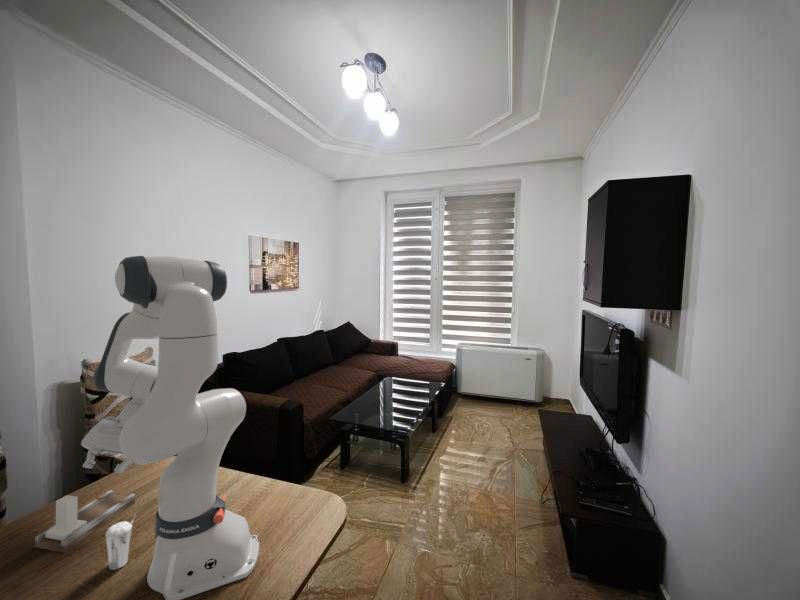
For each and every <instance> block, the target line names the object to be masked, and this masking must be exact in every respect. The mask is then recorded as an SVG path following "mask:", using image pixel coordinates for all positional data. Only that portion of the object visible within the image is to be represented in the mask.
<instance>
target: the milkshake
mask: <svg viewBox="0 0 800 600" xmlns="http://www.w3.org/2000/svg"><path fill="white" fill-rule="evenodd" d="M136 516H137V514H136V513H134V515H133V518H132V520H131V522H130V521H127V520H126V521H119V522H117V523H114V524H113V525H110V526H109V527H108V529H107V531H106V532H105V540H106V548H107V558H108V559H107V561H108V569H109V570H111V571H115V570H120V568H122V567H125V565H126V564H127V563H128V559H129V553H130V552H129V551H130V543H131V542H130V541H131V536H132V531H133V529H132V528H133V522H134V520H135V519H136Z"/></svg>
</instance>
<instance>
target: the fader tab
mask: <svg viewBox="0 0 800 600" xmlns="http://www.w3.org/2000/svg"><path fill="white" fill-rule="evenodd" d="M78 502H79V501H78V496H77V495H75V496H74V495H68V494H66V495H64V496H62V498H59V499H57V500H56V501H55V524H56V526H55V527H54V528H52V529H50V530H49V531H47V532H46V533H45V538H51V539H56V540H62V541H63V540H64V539H66V538H67V537H69V536H70V535H72V534H73V533H75V532H76V531H78V530H79V529H80V528H82V527H83V526H85V525H86V524H87V521H83V520H77V511H78V510H79V509H78V508H79V507H78Z"/></svg>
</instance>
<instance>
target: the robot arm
mask: <svg viewBox="0 0 800 600" xmlns="http://www.w3.org/2000/svg"><path fill="white" fill-rule="evenodd" d="M227 278H228V277H227V273H226V271H225V269H224V268H223V266H222V265H221V264H219V263H217V262H214V261H210V260H209V261H208V260H204V261H202V260H197V259H191V258H190V259H189V258H182V257H177V256H144V255H135V256H128V257H124V258H123V259H122V260H121V261H120V262H119V264H118V267H117V269H116V271H115V274H114V282H115V286H116V289H117V291H118V293H119V295H120V297H122V298H123V299H124V300H126V301H127V302H128V303H132V304H133V306H132V309H131V311H129V312H125V313H124V314H123V315H120V317H119V318H118V319H117V321H116V322H115V324H114V326H113V328H112V330H111V331H110V335H109V338H108V340H107V344H106V346H105V348H104V352H103V355H102V356H101V360H100V362H99V364H98V365H97V366H96V368H95V371H94V373H93V376H92V380H93V384H94V386H95V387H96V389H97V390H98V391H101V392H106V393H112V394H116V395H117V394H118V395H121V396H125V397H129V398H131V400H129V401H128V402H127V403H126V405H125V406H124V407H123V408H122V410H121V411H120V413H119V415H118V416H111V415H108V416H107V417H104V418H102V419H100V420H99V422H97V423H96V424H95V425H94V426H93V427H92V428H91V429H90V430H89V432H88V433H87V434H86V435H85V436H84V437H83V438H82V440H81V442H80V446H81V447H83V448H84V449H86V450H88V451H87V454H86V460H85V461H84V463H83V464H82V467H83V468H85V469H93V467H94V466H95V464H96V463H97V462H96V461H95V458H96V456H98V455H99V453H100V452H104V453H112V454H119V455H123V456H124V457H125V460H124V461H122V462H121V463H117V465H116V466H115V468H114V469H113V472H115V473H116V474H117V473H118V474H123V473H124V472H125V470H126V468H127V467H129V466H130V465H131V464H135V465H140V466H141V465H142V466H143V465H147V464H151V463H157V462H159V461H163V460H168V459H169V458H170V459H171V458H172V457H174V456H175V458H174V459H173V460H172V461H170V463H169V464H168V466H166V467H165V469H164V470H163V472H162V473H161V476H160V479H159V483H158V508H157V509H158V510H157V511H156V512H155V519H154V536H155V537H154V538H155V539H156V540H155V546H154V551H153V557H152V560H151V564H150V567H149V570H148V572H147V575H146V582H147V585H148V586H149V588H150V589H152V590H153V591H155V592H158V593H160V594H162V595H163V597H164V599H165V600H184V599H187V598H189V597H192V596H196V595H198V594H201V593H203V592H207V591H211V590H213V589H216V588H218V587H221V586H224V585H226V584H230V583H233V582H236V581H239V580H241V579H244V578H245V579H246V578H247V577H248V576H249V575H250V573H252V572H253V570H254V568H255V567H256V564H257V561H258V558H259V553H260V541H259V542H258V539H257V535H258V534H257V535H256V534H254V535H250V532H249V529H250V528H249V523H248V521H247V519H246V518H245V517H244V516H243V515H240V514H237V513H235V512H233V511H230V510H228V509H226V494H224V495H223V496H222V498H221V497H219V496H218V495H217V486H218V485H217V483H218V471H219V466H220V463H221V459H222V456H223V454H224V451H225V449H226V447H227V445H228V442H229V441H230V439H231V436H232V435H233V434H234V432H235V430H236V429H237V428H238V427H239V425H240V424H241V423H243V421H244V419H245V416H246V413H247V403H246V400H245V397H244V396H243V395H242V393H241V392H240V391H238V390H237V389H235V388H232V387H230V388H229V387H227V388H216V389H215V388H213V389H211V390H207V391H203V392H200V393H199V391H200V390H201V387H202V385H204V383H205V381H206V380H207V379H208V378H210V376H211V375H213V374H214V373H215V372H216V370H217V368H218V364H219V357H218V355H219V354H218V353H219V350H218V322H217V313H216V310H215V309H216V308H215V304H214V303H215V302H217V301H219V300H221V299H222V298H223V296H224V295H225V294H226V291H227V289H228V279H227ZM140 339H141V340H155V339H158V366H157V365H152V364H148V363H144V362H140V361H137V360H134V359H132V358H130V357H129V356H128V351H129V350H130V346H131V344H132V341H133V340H140ZM250 536H251V537H250ZM255 538H256V539H255ZM256 540H257V541H256Z"/></svg>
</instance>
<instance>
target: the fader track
mask: <svg viewBox="0 0 800 600" xmlns="http://www.w3.org/2000/svg"><path fill="white" fill-rule="evenodd" d="M135 503H136V494H135V493H130V494H129V495H122V494H121V495H120V494H117V493H114V490H111V489H110V490H108V491H107V492H105V493H103V494H102V495H100V496H98V497H96V499H94V500H92V501H91V502H89V503H87V504H86V505H84V506H82V507H81V508H80V509H78V510H77V520H83V521H87V524H86V525H85V526H83V527H82V528H80V529H79V530H78V531H76V532H75V533H73V534H72V535H70V536H69V537H67V538H66V539H64V540H63V541H62V540H56V539H51V538H45V533H46V532H47V531H49V530H50V529H52V528H54V527H55V526H56V523H55V524H54V525H52V526H50V527H49V528H47V529H46V530H44V531H43V532H41V533H39V534H38V535H36V536H35V537H34V547H35V548H37V549H43V550H48V551H54V552H60V553H63V554H64V553H66V552H68V551H69V550H71V549H72V548H73V547H75V546H76V545H77V544H79V543H80V542H82V541H84V539H86V538H87V537H89V536H90V535H92V534H93V533H94V532H95V531H97V530H99V529H100V528H101V527H103V526H104V525H106V524H107V523H108V522H110V521H111V520H112V519H114V518H116V517H117V516H119V514H121V513H123V512H125V510H127V509H128V508H129V507H131V506H132V505H134V504H135Z"/></svg>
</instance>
